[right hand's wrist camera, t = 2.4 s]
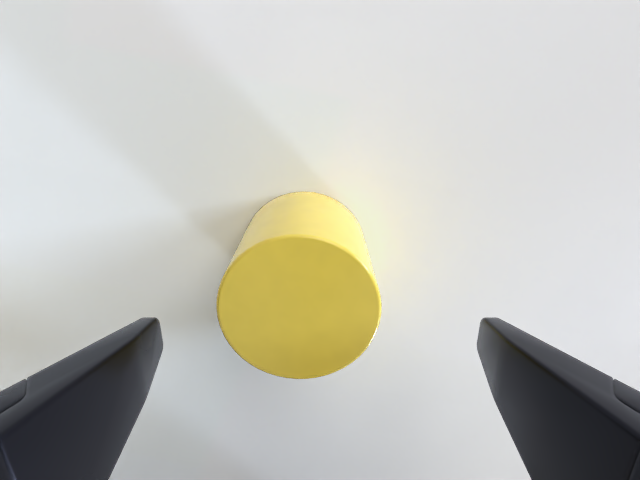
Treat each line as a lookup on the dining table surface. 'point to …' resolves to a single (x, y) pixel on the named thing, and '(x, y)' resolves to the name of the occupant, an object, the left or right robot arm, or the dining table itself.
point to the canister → (300, 289)
